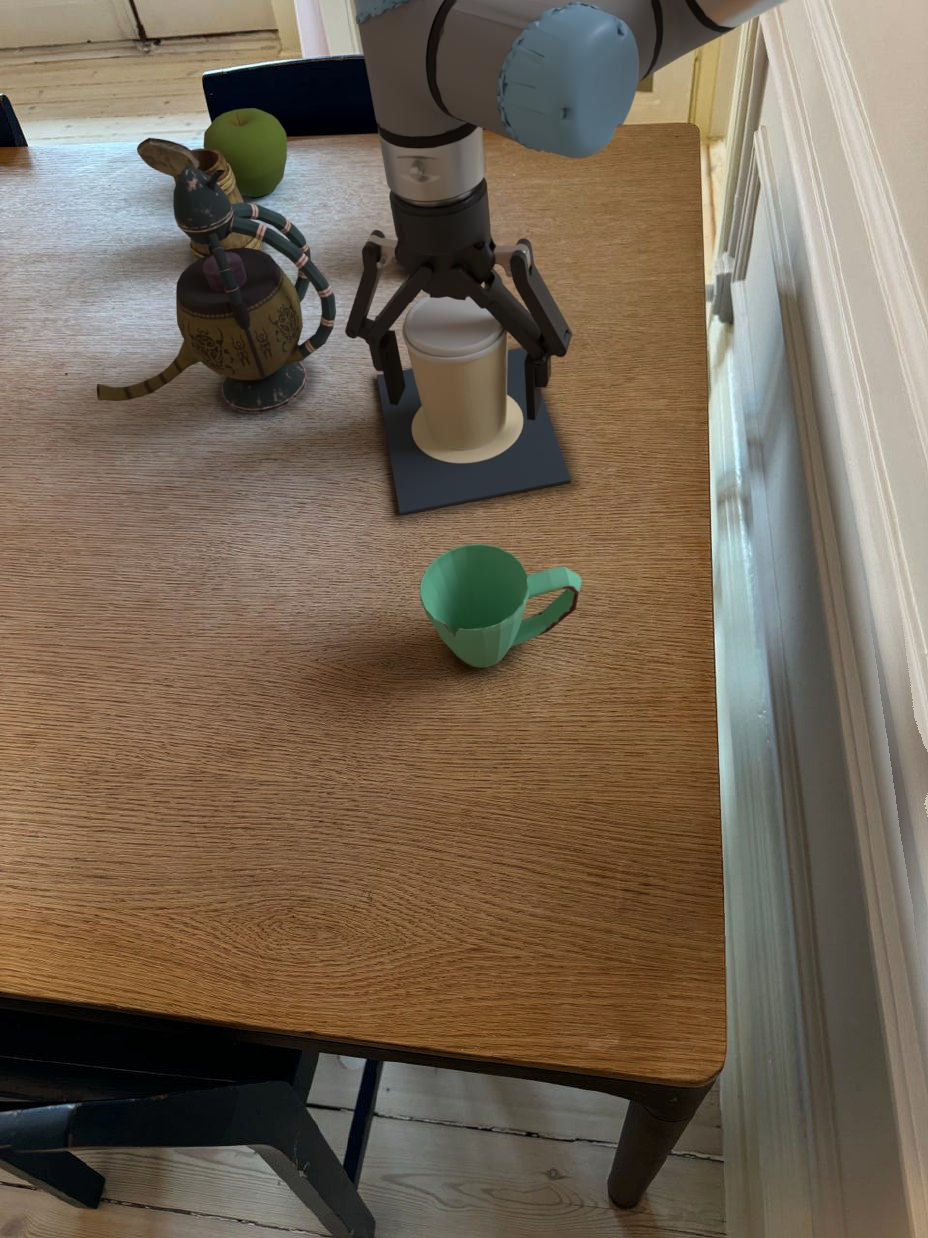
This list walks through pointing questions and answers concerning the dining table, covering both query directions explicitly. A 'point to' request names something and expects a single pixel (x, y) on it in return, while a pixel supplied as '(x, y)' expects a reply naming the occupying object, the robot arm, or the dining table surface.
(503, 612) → the mug
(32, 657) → the dining table surface
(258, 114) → the apple
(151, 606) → the dining table surface
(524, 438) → the place mat
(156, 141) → the wooden mug
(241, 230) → the teapot
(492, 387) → the coffee cup
